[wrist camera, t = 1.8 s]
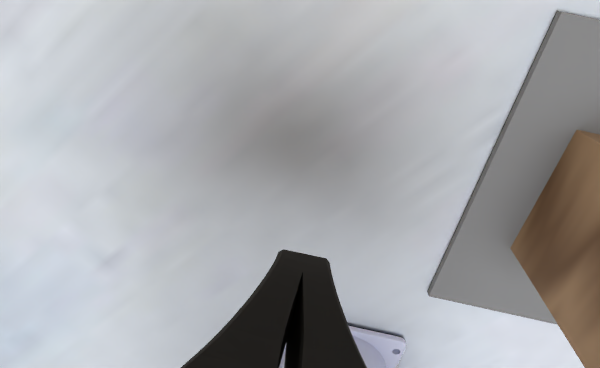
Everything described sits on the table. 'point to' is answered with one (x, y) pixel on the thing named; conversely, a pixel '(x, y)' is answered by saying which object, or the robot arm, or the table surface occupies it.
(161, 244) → the table surface
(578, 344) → the walnut slab
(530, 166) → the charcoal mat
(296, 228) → the table surface
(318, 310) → the robot arm
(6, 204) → the table surface
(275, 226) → the table surface
